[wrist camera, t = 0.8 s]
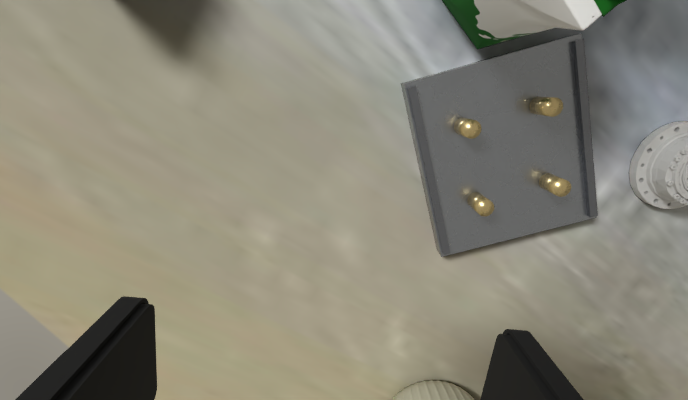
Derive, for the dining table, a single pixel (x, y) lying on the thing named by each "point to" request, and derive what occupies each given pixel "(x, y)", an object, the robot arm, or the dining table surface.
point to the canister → (433, 392)
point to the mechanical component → (662, 167)
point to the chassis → (505, 145)
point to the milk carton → (523, 17)
